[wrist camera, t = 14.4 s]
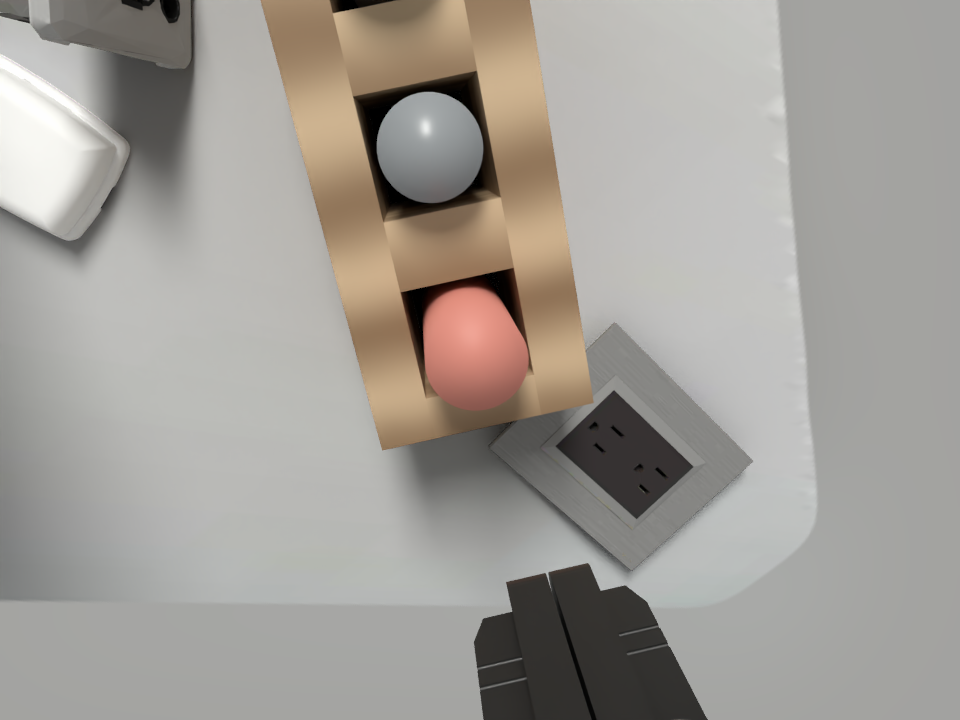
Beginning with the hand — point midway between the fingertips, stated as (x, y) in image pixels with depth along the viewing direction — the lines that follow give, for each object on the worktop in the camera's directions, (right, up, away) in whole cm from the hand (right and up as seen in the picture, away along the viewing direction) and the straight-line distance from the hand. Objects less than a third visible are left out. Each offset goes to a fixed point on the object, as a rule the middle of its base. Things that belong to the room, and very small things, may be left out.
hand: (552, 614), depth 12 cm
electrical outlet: (+7, -1, +32) cm, 33 cm away
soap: (-25, +16, +24) cm, 38 cm away
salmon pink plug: (-2, +7, +24) cm, 25 cm away
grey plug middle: (-4, +15, +23) cm, 28 cm away
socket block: (-4, +16, +25) cm, 30 cm away
